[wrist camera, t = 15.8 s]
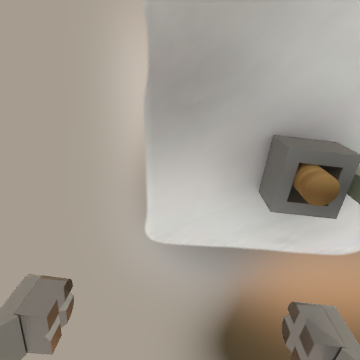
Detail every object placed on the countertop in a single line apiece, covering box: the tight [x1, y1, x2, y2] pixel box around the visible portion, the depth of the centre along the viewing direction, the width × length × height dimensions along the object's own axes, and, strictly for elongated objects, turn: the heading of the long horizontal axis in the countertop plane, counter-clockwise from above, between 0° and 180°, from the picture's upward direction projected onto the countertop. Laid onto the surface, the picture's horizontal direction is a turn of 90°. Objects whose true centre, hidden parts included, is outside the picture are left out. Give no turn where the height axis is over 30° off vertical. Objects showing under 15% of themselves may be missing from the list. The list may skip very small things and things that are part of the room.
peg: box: [292, 163, 340, 206], centre depth 34 cm, size 4×4×9 cm
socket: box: [259, 135, 360, 219], centre depth 35 cm, size 9×9×6 cm
